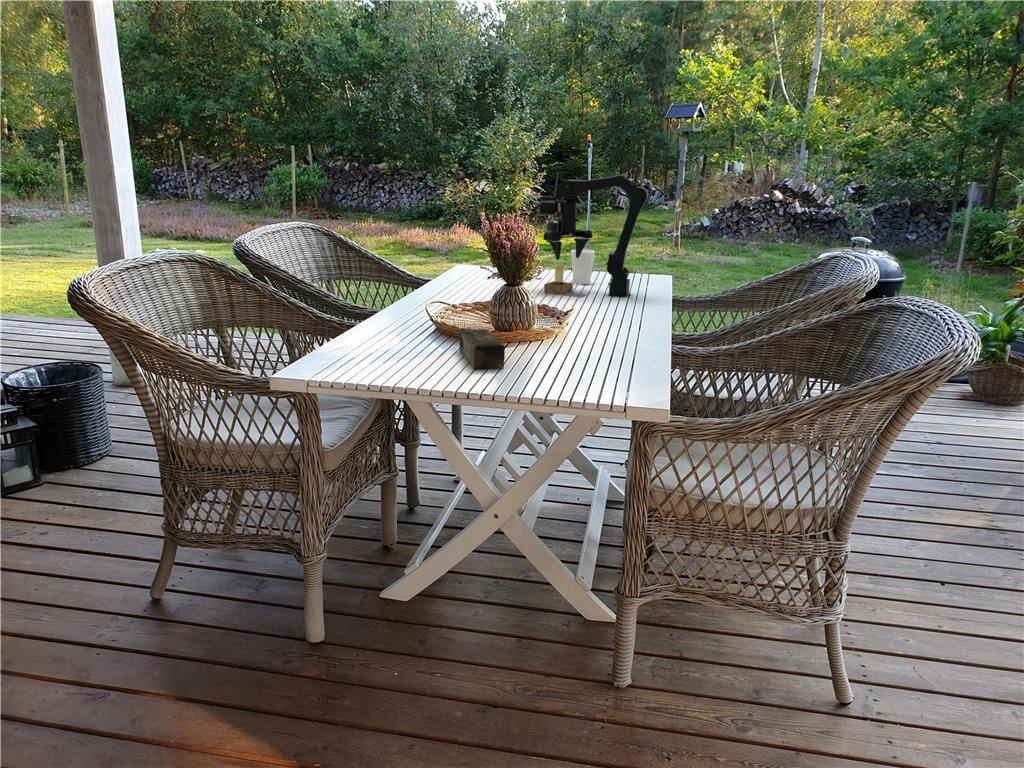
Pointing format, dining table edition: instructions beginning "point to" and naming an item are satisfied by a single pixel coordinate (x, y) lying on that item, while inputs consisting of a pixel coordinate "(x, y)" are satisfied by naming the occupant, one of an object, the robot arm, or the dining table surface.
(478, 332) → the beverage carton
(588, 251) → the foam cup
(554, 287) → the socket block
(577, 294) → the mat
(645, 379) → the dining table surface
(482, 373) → the dining table surface
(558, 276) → the pin
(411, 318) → the dining table surface
